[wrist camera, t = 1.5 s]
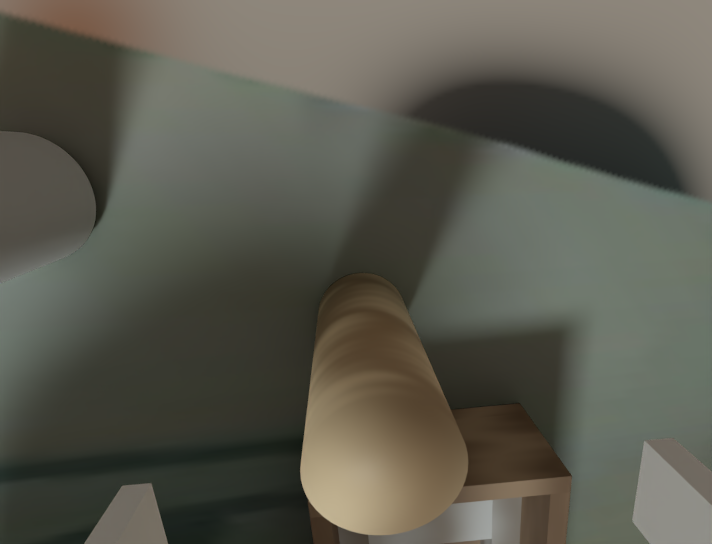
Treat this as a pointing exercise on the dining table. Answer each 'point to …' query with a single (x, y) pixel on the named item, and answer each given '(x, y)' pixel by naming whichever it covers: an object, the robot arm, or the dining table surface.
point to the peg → (376, 416)
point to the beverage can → (40, 204)
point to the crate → (489, 489)
